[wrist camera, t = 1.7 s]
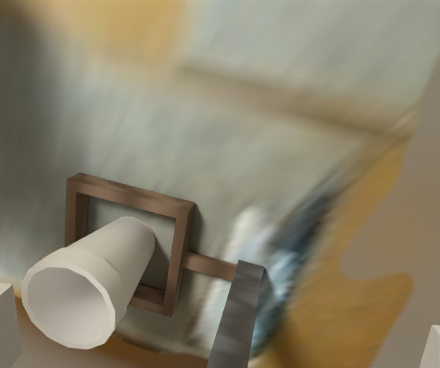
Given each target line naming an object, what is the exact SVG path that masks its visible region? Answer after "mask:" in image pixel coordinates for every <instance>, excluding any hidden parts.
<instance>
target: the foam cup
mask: <svg viewBox="0 0 440 368" xmlns="http://www.w3.org/2000/svg"><path fill="white" fill-rule="evenodd" d="M154 250H155V238H154V235H153V232H152V230H151V229H150V228H149V227H148V226H147V225H146V224H145V223H144V222H143V221H141V220H139V219H137V218H135V217H121V218H119V219H117V220H115V221H113V222H111V223H109V224H107V225H106V226H104V227H102V228H100V229H98V230H96V231H95V232H93V233H91V234H89V235H87V236H86V237H84V238H82V239H80V240H78V241H77V242H75V243H73V244H71V245H69V246H68V247H66V248H61V249H59V250H57V251H55V252H53V253H51V254H49V255H47V256H46V257H44V258H43V259H42V260H40V261H39V262H38V263H36V264H35V265H34V266H32V267H31V268H30V269H29V270H28V272H27V274H26V276H25V278H24V279H23V281H22V283H21V293H22V304H23V306H24V308H25V310H26V311H27V313H28V315H29V317H30V319H31V321H32V322H33V324H35V325H36V326H37V327H38V328H39V329H40V330H41V331H42V332H43V333H44V334H45V335H46V336H47V337H48V338H50V339H52V340H54V341H56V342H58V343H60V344H62V345H64V346H66V347H69V348H79V349H91V348H93V347H96V346H99V345H101V344H104V343H105V342H106V341H107V339H108V338H109V337H110V335H111V334H112V332H113V331H114V330H115V328H116V327H117V325H118V324H119V323H120V321H121V320H122V318H123V317H124V315H125V314H126V312H127V306H128V304H129V302H130V300H131V298H132V296H133V294H134V292H135V290H136V287H137V285H138V283H139V281H140V279H141V277H142V275H143V273H144V271H145V269H146V267H147V265H148V263H149V261H150V259H151V257H152V255H153V252H154Z"/></svg>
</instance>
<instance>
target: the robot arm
mask: <svg viewBox="0 0 440 368" xmlns="http://www.w3.org/2000/svg"><path fill="white" fill-rule="evenodd" d="M21 354H22V347H21V340H20V333H19V327H18V319H17V312H16V305H15V298H14V291H13V284H3V283H0V368H11V367H12V365H13V364H14V363H15V362H16V361H17V359H18V358H19V357H20V356H21ZM419 368H440V326H439V325H432V327H431V330H430V333H429V337H428V340H427V344H426V347H425V351H424V354H423V357H422V360H421V364H420V367H419Z"/></svg>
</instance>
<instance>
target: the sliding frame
mask: <svg viewBox="0 0 440 368" xmlns="http://www.w3.org/2000/svg"><path fill="white" fill-rule="evenodd" d="M88 195H91V196H94V197H98V198H102V199H106V200H109V201H113V202H117V203H121V204H124V205H128V206H132V207H136V208H139V209H143V210H147V211H151V212H154V213H158V214H162V215H166V216H169V217H173V218H176V225H175V231H174V238H173V244H172V251H171V257H170V264H169V271H168V277H167V284H166V290H165V292H163V291H160V290H156V289H153V288H150V287H146V286H143V285H140V284H138V285H137V287H136V290H135V292H134V294H133V296H132V298H131V300H130V302H129V304H131V305H134V306H137V307H141V308H144V309H147V310H150V311H154V312H157V313H160V314H163V315H167V316H170V317H171V316H172V314H173V312H174V310H175V308H176V306H177V304H178V299H179V294H180V288H181V282H182V276H183V270H184V268H186V269H190V270H193V271H197V272H200V273H204V274H207V275H211V276H214V277H218V278H221V279H225V280H228V281H232V284H231V288H230V291H229V294H228V298H227V301H226V304H225V308H224V311H223V314H222V318H221V321H220V324H219V328H218V331H217V334H216V337H215V341H214V344H213V347H212V351H211V354H210V357H209V361H208V365H207V368H247V366H248V360H249V354H250V348H251V342H252V336H253V330H254V324H255V318H256V312H257V306H258V300H259V294H260V288H261V282H262V276H263V270H264V267H263V266H259V265H255V264H252V263H248V262H245V261H241V260H239V261H238V265H236V264H233V263H229V262H226V261H222V260H218V259H215V258H211V257H208V256H204V255H200V254H197V253H193V252H190V251H187V247H188V241H189V235H190V229H191V223H192V217H193V212H194V206H195V203H194V202H190V201H186V200H183V199H179V198H175V197H171V196H167V195H163V194H159V193H156V192H152V191H148V190H144V189H140V188H136V187H132V186H128V185H125V184H121V183H117V182H113V181H109V180H105V179H101V178H98V177H94V176H90V175H86V174H82V173H78V174H76V175H74V176H72V177H70V178H68V179H67V188H66V230H65V248H66V247H68V246H69V245H71V244H73V243H75V242H77V241H78V240H80V239H82V238H84V237H86V224H87V204H88Z"/></svg>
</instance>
